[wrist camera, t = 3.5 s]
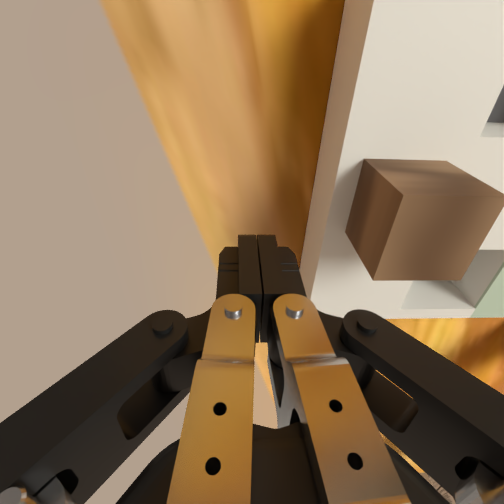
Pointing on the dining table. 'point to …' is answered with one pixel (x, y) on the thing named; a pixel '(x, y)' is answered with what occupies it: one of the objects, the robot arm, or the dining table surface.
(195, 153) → the dining table surface
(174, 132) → the dining table surface
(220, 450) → the robot arm
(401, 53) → the trap plank
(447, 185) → the walnut block
